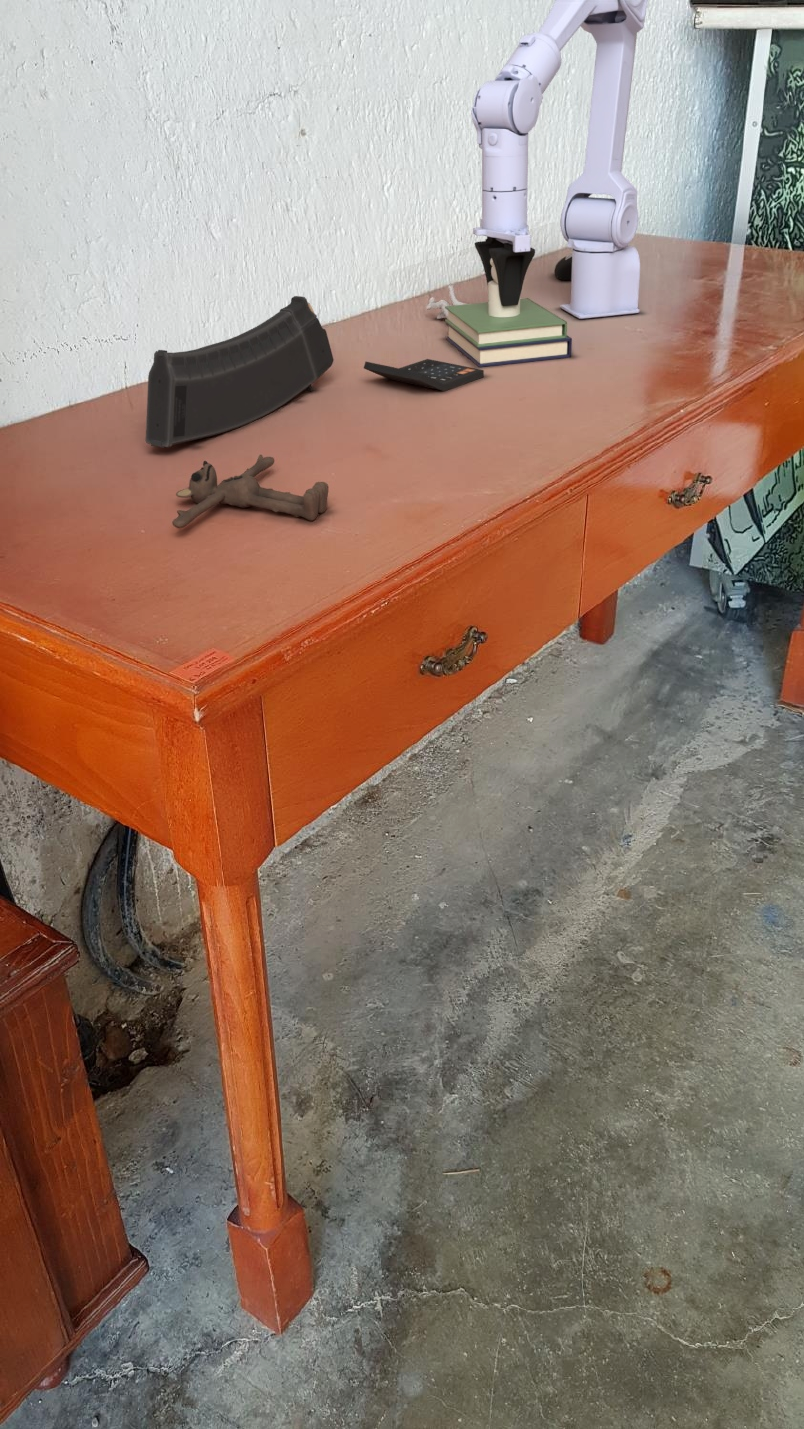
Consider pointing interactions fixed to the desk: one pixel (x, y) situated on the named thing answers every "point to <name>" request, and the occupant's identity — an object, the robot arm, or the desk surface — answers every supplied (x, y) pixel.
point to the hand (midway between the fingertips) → (503, 301)
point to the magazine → (235, 377)
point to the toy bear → (494, 299)
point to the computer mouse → (564, 268)
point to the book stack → (507, 334)
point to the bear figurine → (247, 494)
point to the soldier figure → (444, 303)
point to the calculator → (428, 374)
